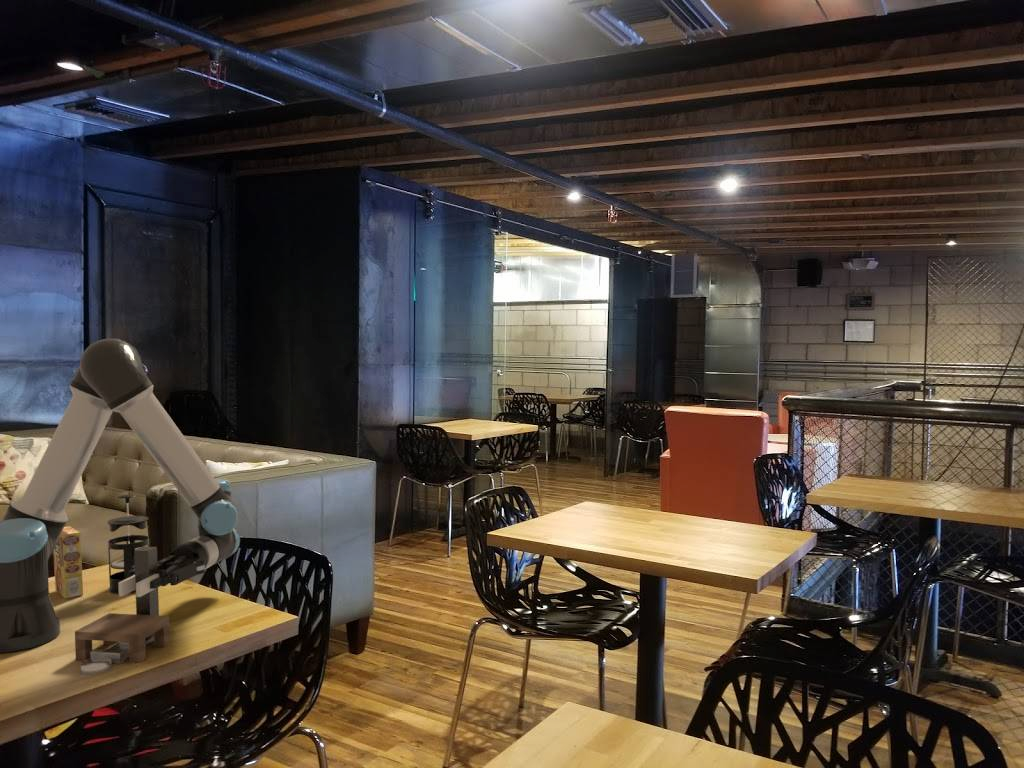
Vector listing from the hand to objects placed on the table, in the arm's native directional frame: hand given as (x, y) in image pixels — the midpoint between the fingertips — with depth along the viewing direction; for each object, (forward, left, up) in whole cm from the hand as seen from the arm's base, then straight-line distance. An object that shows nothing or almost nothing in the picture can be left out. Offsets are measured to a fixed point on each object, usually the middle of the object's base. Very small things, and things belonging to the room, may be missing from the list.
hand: (129, 589), depth 154 cm
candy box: (-36, +29, -12) cm, 47 cm away
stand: (0, -2, -11) cm, 12 cm away
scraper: (0, 0, -11) cm, 11 cm away
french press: (-24, +35, -12) cm, 44 cm away
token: (0, -10, -12) cm, 16 cm away
